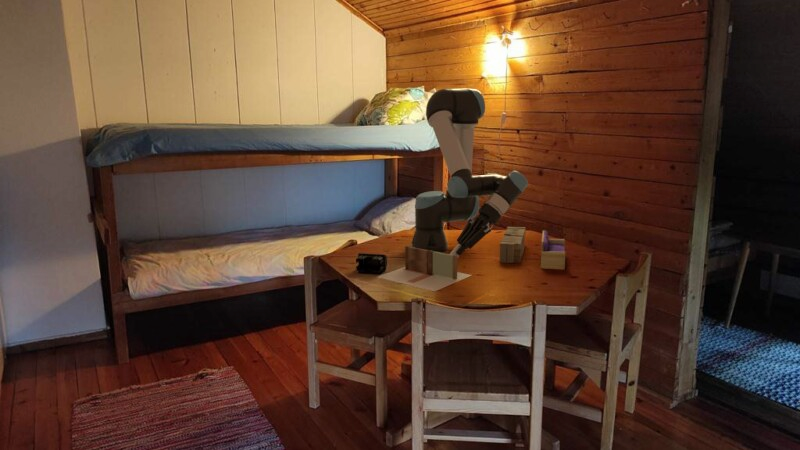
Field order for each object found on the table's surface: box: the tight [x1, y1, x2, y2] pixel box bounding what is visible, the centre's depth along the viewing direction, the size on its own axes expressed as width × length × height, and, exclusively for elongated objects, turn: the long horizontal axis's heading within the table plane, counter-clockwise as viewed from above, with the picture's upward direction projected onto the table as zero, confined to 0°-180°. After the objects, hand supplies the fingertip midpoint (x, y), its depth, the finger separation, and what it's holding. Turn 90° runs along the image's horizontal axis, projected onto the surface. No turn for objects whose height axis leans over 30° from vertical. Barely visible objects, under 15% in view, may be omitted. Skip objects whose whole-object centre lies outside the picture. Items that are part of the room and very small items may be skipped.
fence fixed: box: [404, 245, 433, 275], centre depth 201 cm, size 12×2×8 cm, turn 50°
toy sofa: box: [540, 230, 566, 270], centre depth 213 cm, size 21×9×10 cm, turn 165°
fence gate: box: [433, 251, 458, 279], centre depth 194 cm, size 10×2×8 cm, turn 50°
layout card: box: [377, 266, 472, 292], centre depth 197 cm, size 25×22×1 cm
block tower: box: [499, 226, 526, 264], centre depth 227 cm, size 8×8×29 cm
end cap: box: [355, 252, 388, 276], centre depth 203 cm, size 10×7×7 cm
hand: (449, 260), depth 195 cm, fingers closed
